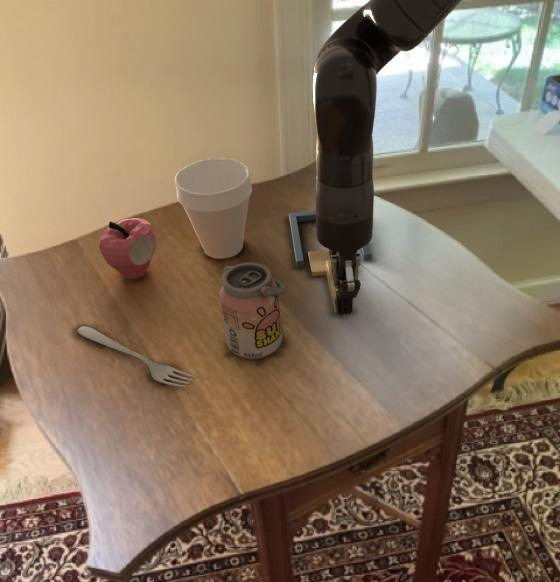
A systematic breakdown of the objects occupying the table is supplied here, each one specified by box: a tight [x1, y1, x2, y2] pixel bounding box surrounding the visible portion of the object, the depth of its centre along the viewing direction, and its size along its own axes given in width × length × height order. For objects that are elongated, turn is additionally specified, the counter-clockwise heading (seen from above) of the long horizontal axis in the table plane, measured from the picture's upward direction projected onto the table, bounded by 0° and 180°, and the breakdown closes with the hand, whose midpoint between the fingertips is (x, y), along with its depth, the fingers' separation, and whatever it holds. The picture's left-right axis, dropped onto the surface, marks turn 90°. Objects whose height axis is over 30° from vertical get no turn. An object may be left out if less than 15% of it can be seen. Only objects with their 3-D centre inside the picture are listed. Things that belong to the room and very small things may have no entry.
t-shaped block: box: [307, 249, 338, 314], centre depth 104 cm, size 16×7×3 cm, turn 4°
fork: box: [77, 325, 199, 388], centre depth 95 cm, size 3×24×2 cm, turn 53°
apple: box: [98, 217, 158, 280], centre depth 108 cm, size 10×9×10 cm
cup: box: [174, 157, 253, 260], centre depth 110 cm, size 12×12×14 cm
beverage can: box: [218, 262, 287, 361], centre depth 92 cm, size 9×8×12 cm
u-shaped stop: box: [288, 210, 372, 268], centre depth 114 cm, size 15×12×1 cm
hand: (344, 311), depth 97 cm, fingers closed
